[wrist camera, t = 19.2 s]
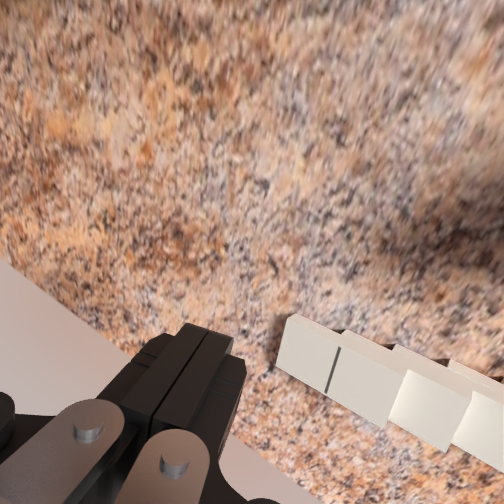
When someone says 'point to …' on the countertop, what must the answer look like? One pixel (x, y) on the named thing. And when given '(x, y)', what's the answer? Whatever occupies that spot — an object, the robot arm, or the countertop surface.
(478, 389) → the domino
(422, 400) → the domino
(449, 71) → the countertop surface
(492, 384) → the domino
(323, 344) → the domino
